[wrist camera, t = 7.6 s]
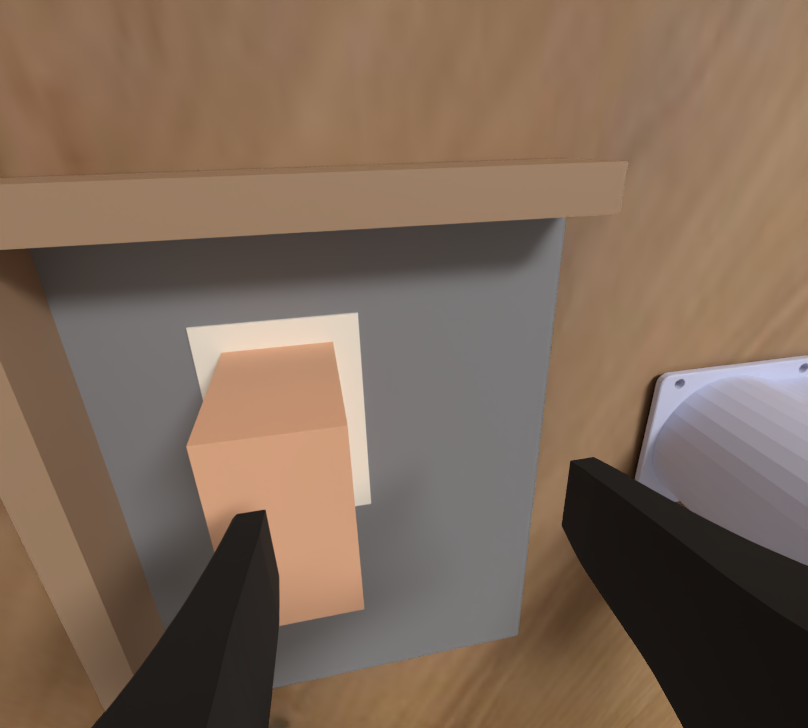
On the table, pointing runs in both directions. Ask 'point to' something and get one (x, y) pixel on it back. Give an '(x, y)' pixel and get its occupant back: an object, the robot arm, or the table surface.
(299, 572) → the block
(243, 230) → the arena
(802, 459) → the robot arm
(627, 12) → the table surface
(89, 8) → the table surface
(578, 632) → the table surface
